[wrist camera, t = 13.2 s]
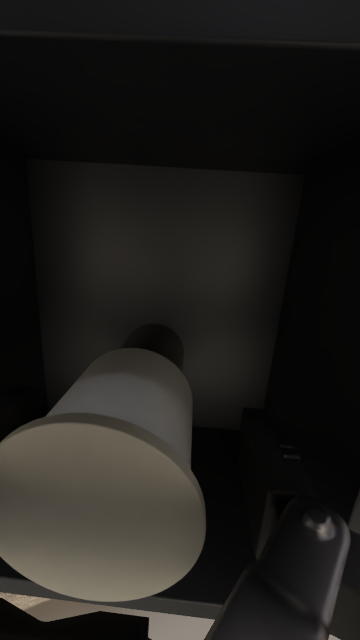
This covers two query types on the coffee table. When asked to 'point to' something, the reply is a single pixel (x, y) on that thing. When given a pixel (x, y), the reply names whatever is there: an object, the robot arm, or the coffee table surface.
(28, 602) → the coffee table surface
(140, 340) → the cylinder
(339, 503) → the open lidded box
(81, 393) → the coffee pod
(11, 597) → the coffee table surface
